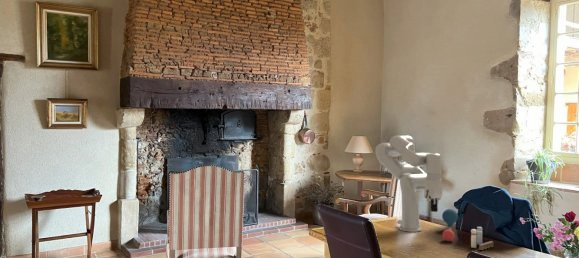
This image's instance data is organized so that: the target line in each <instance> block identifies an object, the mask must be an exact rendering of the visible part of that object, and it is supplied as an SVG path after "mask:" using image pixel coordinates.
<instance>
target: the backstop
mask: <svg viewBox="0 0 579 258" xmlns="http://www.w3.org/2000/svg"><path fill="white" fill-rule="evenodd" d="M490 247H491V248H494V241H492V240H491V241H487V242H484V243H482V244H481V245H478V251H480V250H482V251H485V250H488V249H491V248H490ZM487 248H488V249H487ZM484 249H485V250H484Z"/></svg>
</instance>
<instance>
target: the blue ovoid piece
mask: <svg viewBox="0 0 579 258" xmlns="http://www.w3.org/2000/svg"><path fill="white" fill-rule="evenodd" d="M441 216H442V220H443V222H444V223H445V224H446V225H447V229H449V230H452V231H453V229H452V228H453V225H454V224H455V223H456V222H457V221H458V218H459V216H458V213H457V211H456V210H454V209H451V208H448V209H445V210H444V211H443V213H442V214H441Z"/></svg>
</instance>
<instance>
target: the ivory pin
mask: <svg viewBox="0 0 579 258" xmlns="http://www.w3.org/2000/svg"><path fill="white" fill-rule="evenodd" d="M470 235H471V236H470V248H473V249H474V248H475V249H476V248H477V229H475V228H472V229H471V230H470Z"/></svg>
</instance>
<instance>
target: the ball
mask: <svg viewBox="0 0 579 258" xmlns="http://www.w3.org/2000/svg"><path fill="white" fill-rule="evenodd" d="M441 235H442V238H443V240H444V241H446V242H452V241H454V239H455V236H456V234H455V231H453V229H452V230H449V229H448V228H447V229H445V230H444V231H442V234H441Z"/></svg>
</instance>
